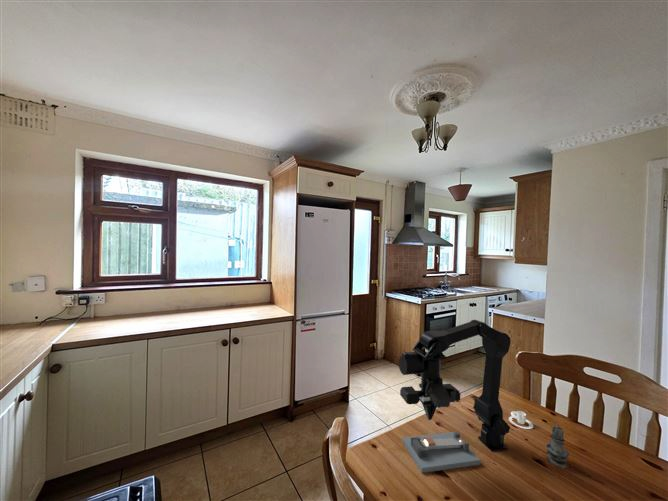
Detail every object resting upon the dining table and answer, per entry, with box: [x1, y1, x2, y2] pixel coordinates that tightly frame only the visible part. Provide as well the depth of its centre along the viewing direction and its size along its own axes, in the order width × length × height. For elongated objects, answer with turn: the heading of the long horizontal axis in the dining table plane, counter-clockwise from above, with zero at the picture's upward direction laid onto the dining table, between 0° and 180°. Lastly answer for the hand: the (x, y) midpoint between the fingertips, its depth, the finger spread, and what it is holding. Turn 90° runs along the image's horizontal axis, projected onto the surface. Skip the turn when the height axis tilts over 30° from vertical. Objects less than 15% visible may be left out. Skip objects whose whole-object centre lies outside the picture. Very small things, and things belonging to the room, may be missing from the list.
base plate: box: [402, 431, 481, 474], centre depth 88 cm, size 20×13×4 cm, turn 100°
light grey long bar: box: [419, 436, 465, 449], centre depth 88 cm, size 15×3×2 cm, turn 100°
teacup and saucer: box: [508, 410, 534, 430], centre depth 105 cm, size 9×8×4 cm
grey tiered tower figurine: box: [545, 423, 570, 469], centre depth 85 cm, size 6×6×12 cm
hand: (429, 419), depth 87 cm, fingers closed
